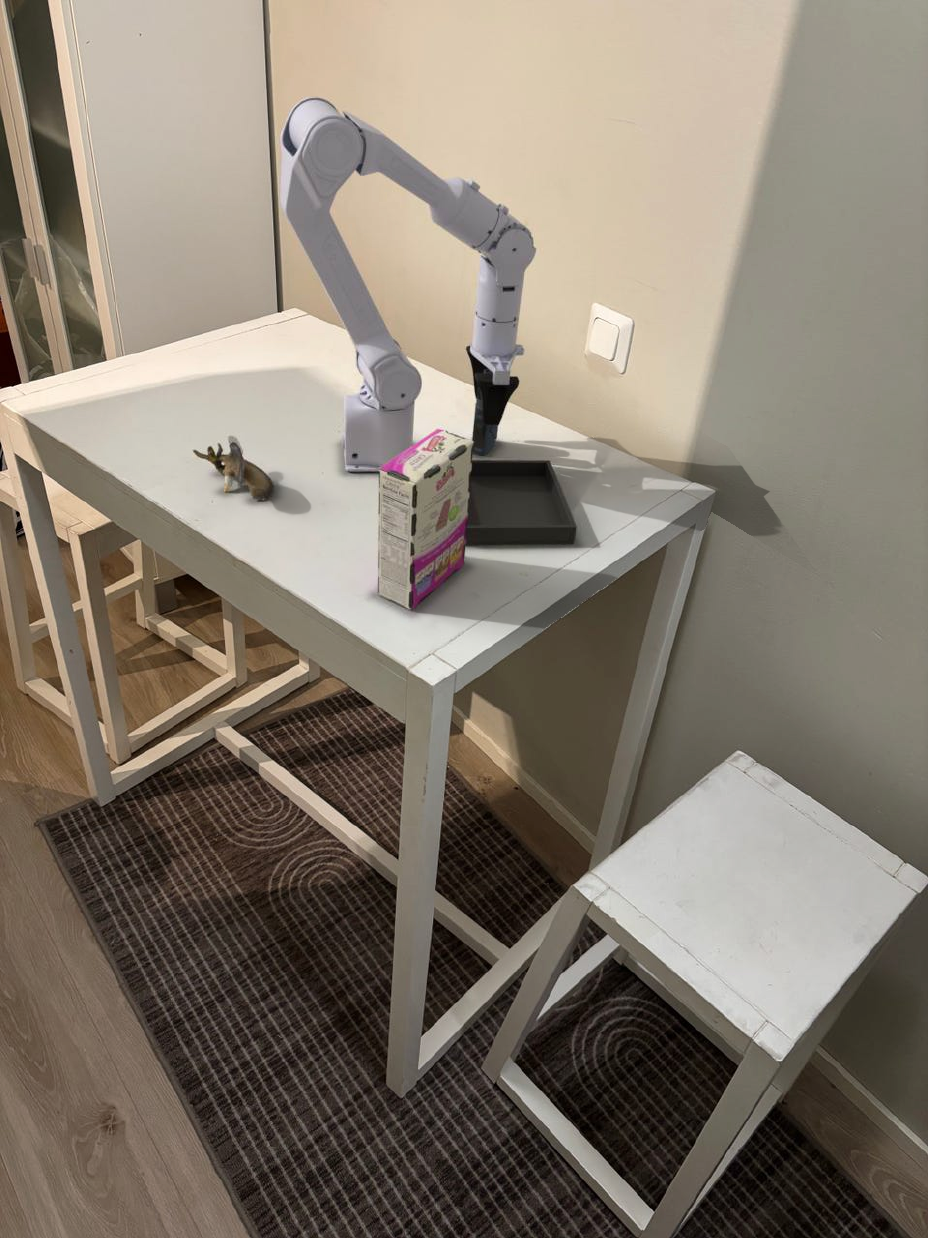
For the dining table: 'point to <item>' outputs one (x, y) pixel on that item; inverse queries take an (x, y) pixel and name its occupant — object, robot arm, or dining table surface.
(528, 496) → the tray
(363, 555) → the dining table surface
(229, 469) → the antlered animal figurine
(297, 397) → the dining table surface
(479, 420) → the vaping device
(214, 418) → the dining table surface
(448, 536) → the candy bar box
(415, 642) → the dining table surface
